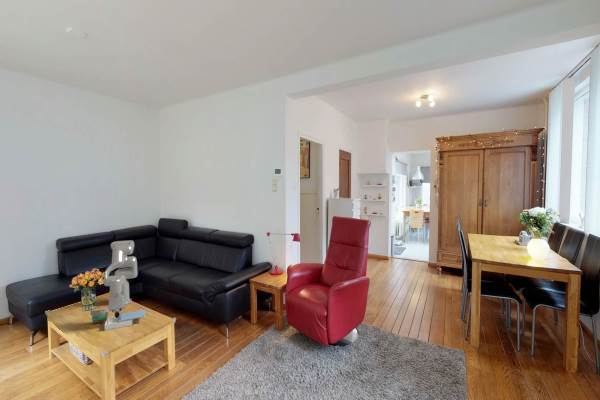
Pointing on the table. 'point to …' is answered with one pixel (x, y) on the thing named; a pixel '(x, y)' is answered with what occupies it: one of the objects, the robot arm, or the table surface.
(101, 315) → the food container
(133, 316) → the lid
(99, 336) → the table surface
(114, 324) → the white rectangular tray
